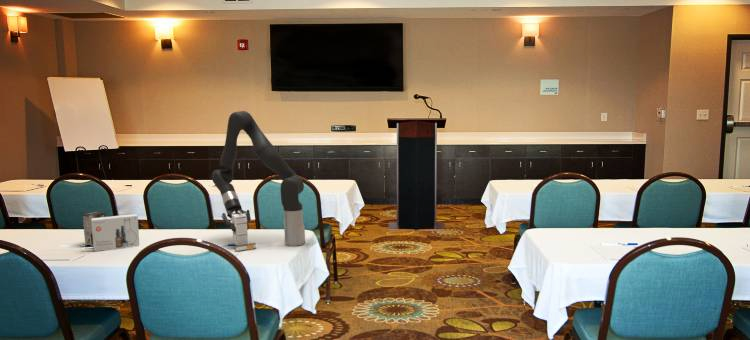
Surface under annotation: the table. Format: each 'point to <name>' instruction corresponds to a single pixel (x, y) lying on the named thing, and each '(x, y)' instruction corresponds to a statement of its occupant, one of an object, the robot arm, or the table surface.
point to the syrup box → (240, 229)
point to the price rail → (245, 247)
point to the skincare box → (115, 232)
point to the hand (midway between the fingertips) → (241, 229)
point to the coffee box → (90, 225)
